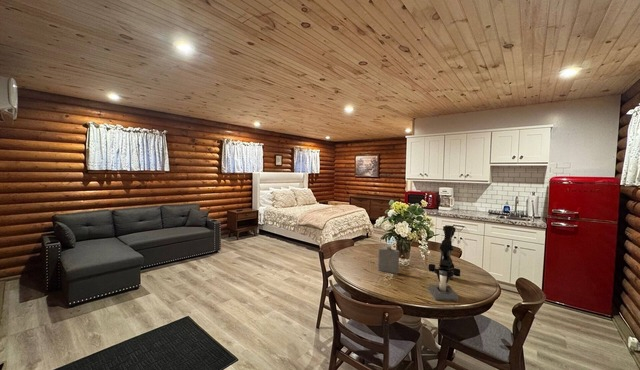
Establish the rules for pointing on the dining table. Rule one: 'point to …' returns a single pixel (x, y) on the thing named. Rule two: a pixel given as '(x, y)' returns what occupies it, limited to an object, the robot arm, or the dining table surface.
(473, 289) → the dining table surface
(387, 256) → the hip flask
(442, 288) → the plug
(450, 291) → the gray rectangular frame
